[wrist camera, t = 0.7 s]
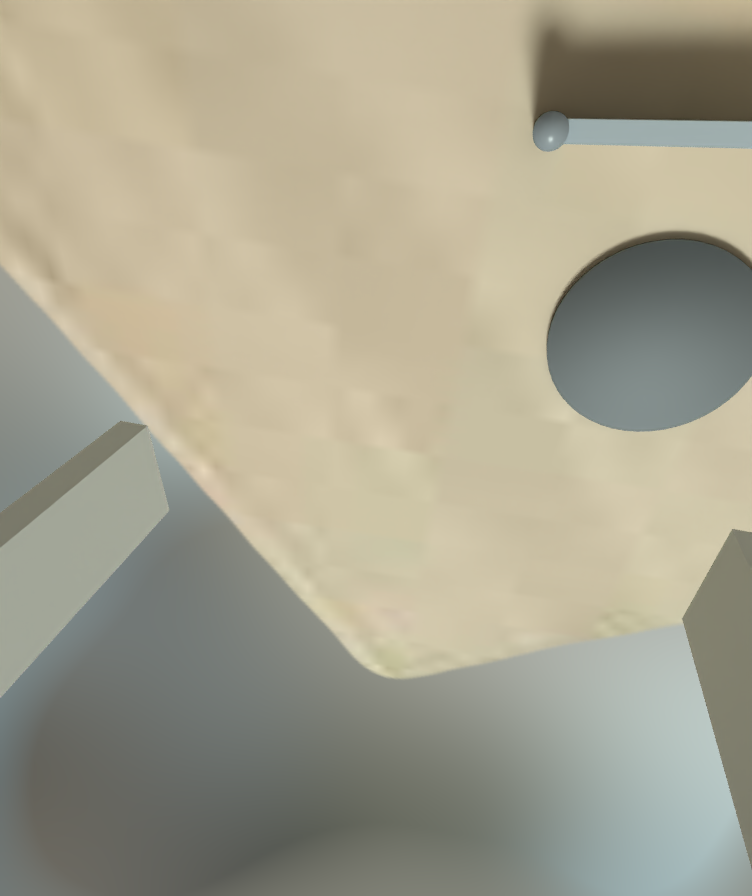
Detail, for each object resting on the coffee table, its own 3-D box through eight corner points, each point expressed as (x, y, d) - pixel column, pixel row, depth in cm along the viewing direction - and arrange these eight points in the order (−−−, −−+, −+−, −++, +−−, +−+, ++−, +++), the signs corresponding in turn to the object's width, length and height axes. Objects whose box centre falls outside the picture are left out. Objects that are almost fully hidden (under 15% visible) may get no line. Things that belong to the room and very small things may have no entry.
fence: (536, 110, 27) (536, 110, 24) (938, 115, 23) (1003, 116, 20) (530, 146, 28) (529, 151, 25) (918, 156, 24) (976, 163, 21)
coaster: (568, 232, 30) (569, 233, 29) (808, 246, 27) (811, 248, 27) (531, 415, 36) (531, 418, 36) (722, 440, 34) (723, 443, 33)
